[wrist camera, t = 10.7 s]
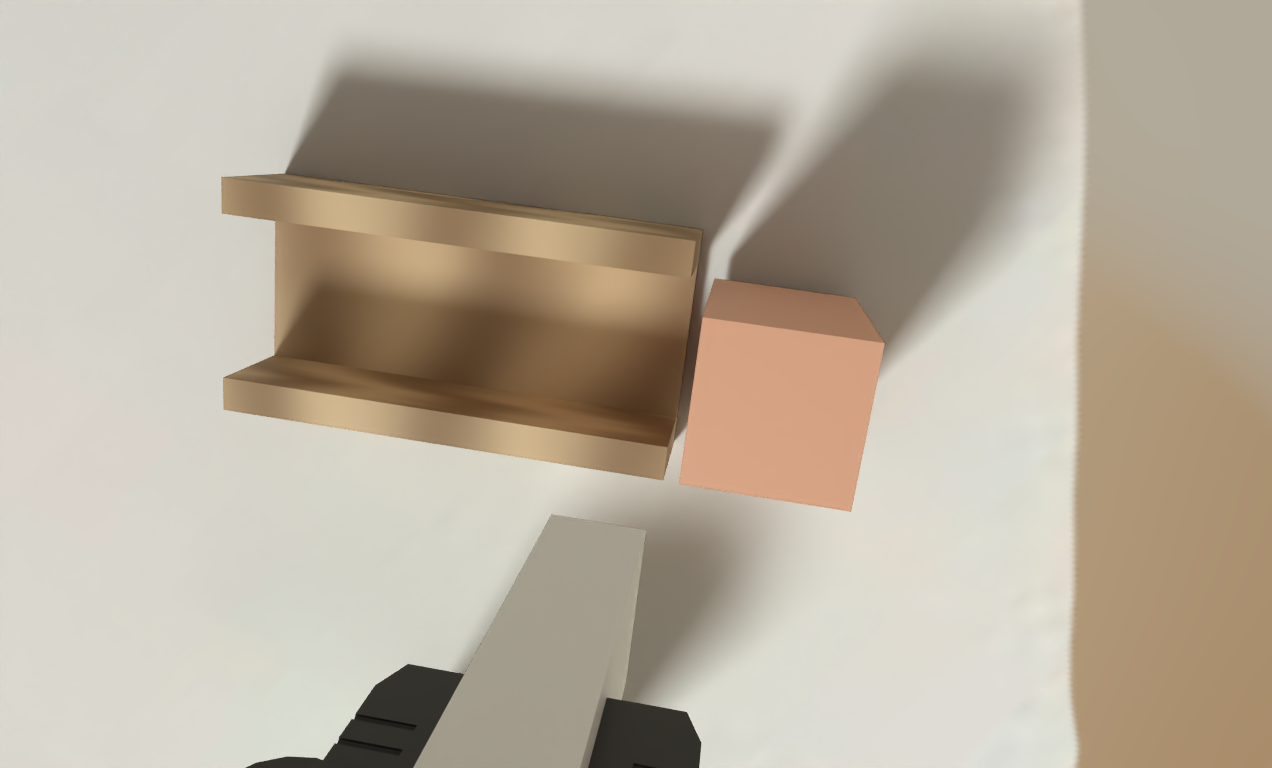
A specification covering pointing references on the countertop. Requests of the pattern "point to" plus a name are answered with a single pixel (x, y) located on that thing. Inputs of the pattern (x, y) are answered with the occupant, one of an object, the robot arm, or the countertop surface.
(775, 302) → the block
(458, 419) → the chute
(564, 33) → the countertop surface
